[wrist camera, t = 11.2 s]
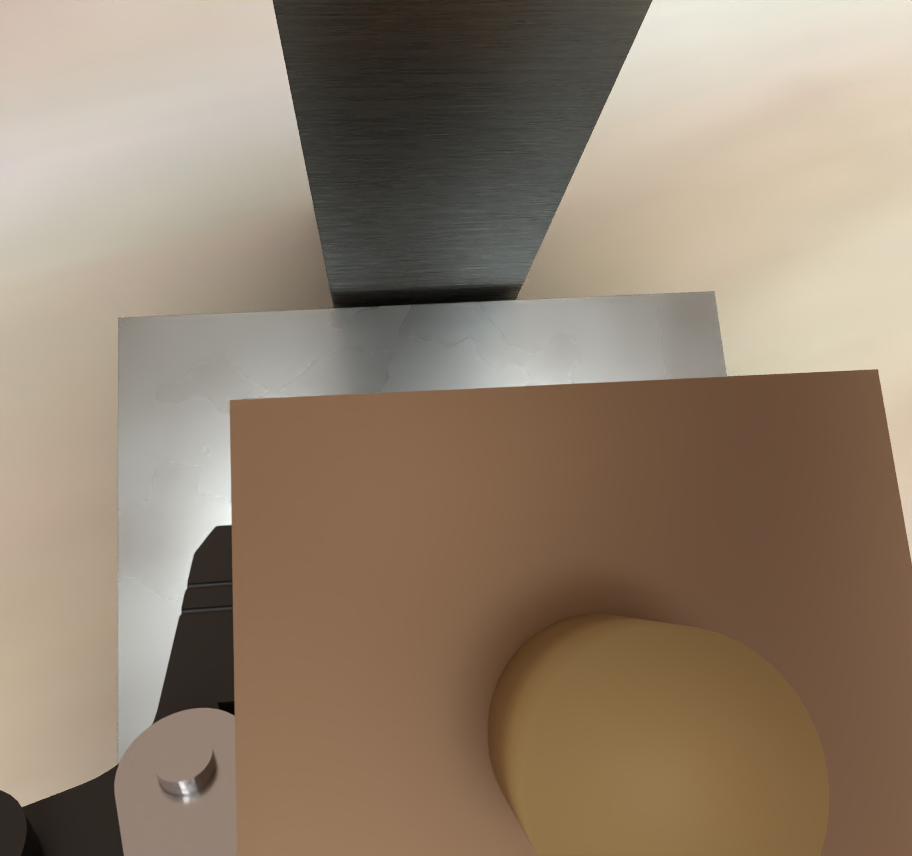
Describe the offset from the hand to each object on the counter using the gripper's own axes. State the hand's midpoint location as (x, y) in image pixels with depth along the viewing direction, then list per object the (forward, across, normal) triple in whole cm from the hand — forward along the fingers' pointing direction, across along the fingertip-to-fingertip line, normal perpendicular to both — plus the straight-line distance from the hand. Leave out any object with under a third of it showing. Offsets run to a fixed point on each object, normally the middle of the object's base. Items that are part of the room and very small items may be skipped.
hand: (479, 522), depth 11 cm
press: (+7, 0, +5) cm, 8 cm away
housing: (+2, 0, +4) cm, 5 cm away
